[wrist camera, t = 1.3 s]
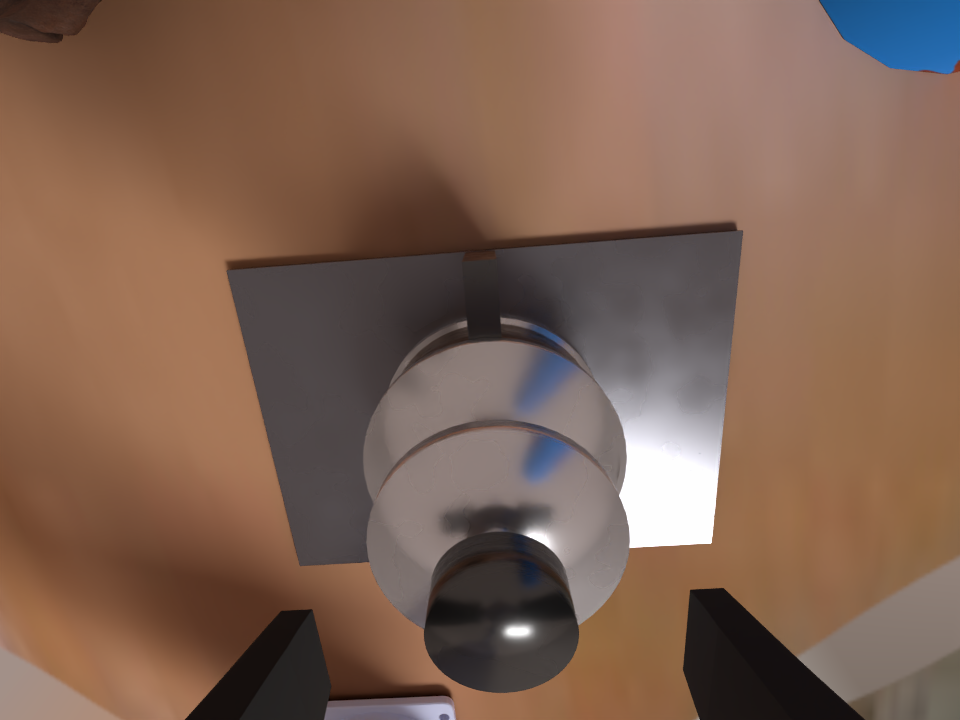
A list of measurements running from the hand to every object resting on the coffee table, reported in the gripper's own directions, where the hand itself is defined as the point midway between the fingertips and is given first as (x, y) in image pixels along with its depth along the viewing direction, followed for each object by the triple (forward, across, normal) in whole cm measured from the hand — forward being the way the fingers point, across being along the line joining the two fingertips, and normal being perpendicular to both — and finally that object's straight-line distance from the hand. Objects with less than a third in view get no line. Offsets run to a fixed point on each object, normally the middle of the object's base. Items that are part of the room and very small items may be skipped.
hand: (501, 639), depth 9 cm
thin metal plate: (+10, 0, 0) cm, 10 cm away
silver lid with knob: (+3, 0, 0) cm, 3 cm away
